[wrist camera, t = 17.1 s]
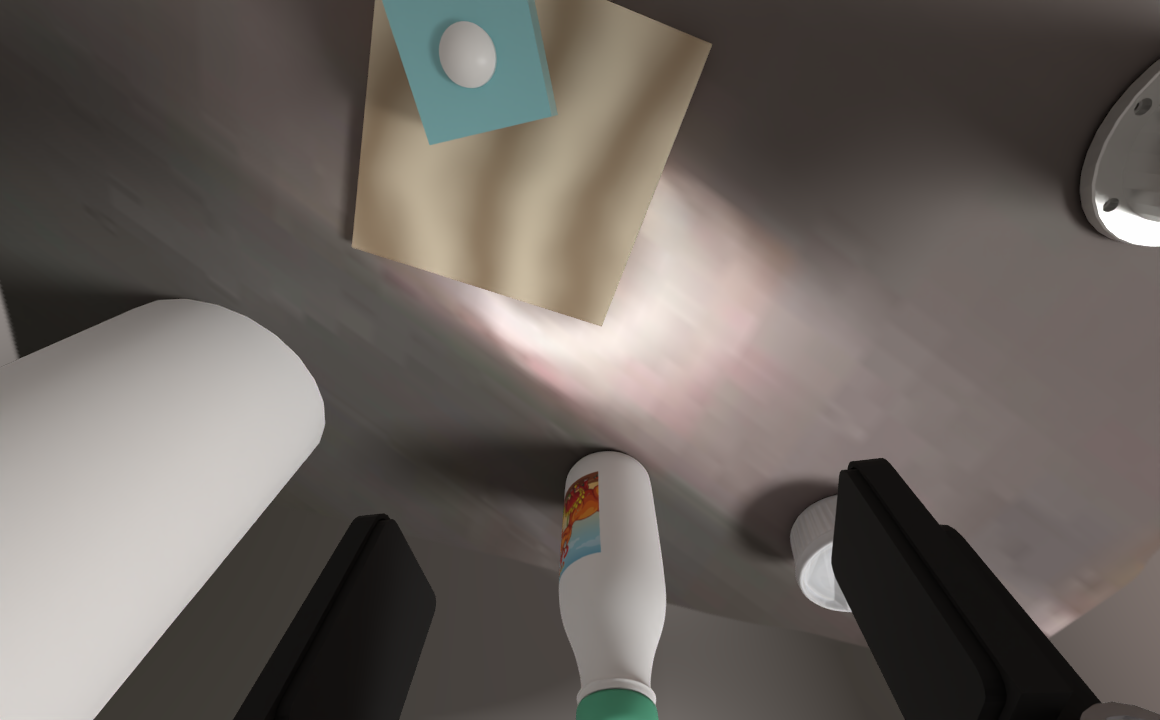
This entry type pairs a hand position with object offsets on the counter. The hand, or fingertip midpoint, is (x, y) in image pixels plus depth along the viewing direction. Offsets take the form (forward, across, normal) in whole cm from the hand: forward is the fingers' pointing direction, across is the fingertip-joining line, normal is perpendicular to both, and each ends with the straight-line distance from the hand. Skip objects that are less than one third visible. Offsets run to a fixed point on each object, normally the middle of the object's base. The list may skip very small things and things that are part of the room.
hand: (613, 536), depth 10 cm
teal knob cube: (+22, +4, -11) cm, 25 cm away
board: (+25, +5, -6) cm, 26 cm away
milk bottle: (+25, +4, +22) cm, 34 cm away
